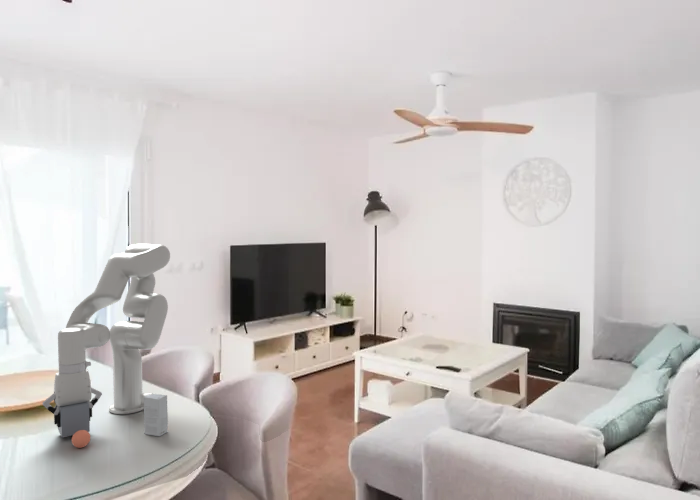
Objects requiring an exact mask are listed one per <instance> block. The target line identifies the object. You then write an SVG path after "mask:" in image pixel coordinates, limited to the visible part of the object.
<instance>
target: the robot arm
mask: <svg viewBox="0 0 700 500" xmlns="http://www.w3.org/2000/svg"><path fill="white" fill-rule="evenodd" d="M170 259H171V253H170V250H169V247H167V246H165V245H164V244H155V243H154V244H151V243H136V244H135V243H133V244H131V245H130V244H129V246H127V247H126V249H125V251H124V252H121V253H114V254H112V255H111V256H110V257H109V258H108V260H107V263H106V265H105V267H104V270H103V271H102V274H101V276H100V278H99V281H98V283H97V284H96V287H95V290H94V291H93V292H92V293H90V295H88V296H86V297H85V298H84V299H83V300H82V301H81V302H80V303H79V304H78V305H76V307H75V308H74V309H73V311H72V312H71V314H70V316H69V319H68V320H67V323H66V325H65V328H63V329H59V331H58V333H57V348H58V349H57V350H58V351H57V355H58V359H57V360H58V372H56V373H55V376H54V382H53V383H54V384H53V393H52V394H51V395H50V396H49V397H47V398H46V399H45V400H44V401H42V406H43V407H44V408H46V410H47V411H49V412H50V413H51V414H53V423H54V425H56V427H57V428H58V427H60V414H59V412H60V407H62V406H68V405H73V404H79V403H84V402H88V403H89V420H90V421H91V418H92V417H93V408H94V406H95V405H96V404H97V403H98V401H99V400H100V398H101V396H103V393H102V391H100V390H98V389H96V388H93V387H92V384H91V377H90V372H89V370H88V367H91V366H92V361H87V360H86V359H87V357H86V350H87V349H95V348H101V347H103V346H104V345H107V343H109V344H110V346H111V352H112V371H113V373H112V376H113V377H112V379H113V403H112V404H110V406H109V407H108V411H109V412H110V413H112V414H114V415H128V414H134V413H138V412H140V411H144V397H145V396H148V395H150V394H151V393H150V392H149V393H144V392H143V360H142V359H143V358H142V354H141V352H140V350H148V351H149V350H152V349H154V348H155V347H156V346H157V345H158V343H159V340H160V339H161V335H162V333H163V332H162V331H163V329H164V325H165V321H166V318H167V315H168V309H169V305H168V300H167V298H166V297H165V296H164V295H163V294H162V293H155V292H154V290H155V286H156V277H155V275H154V273H156V272H158V271H160V270H161V269H163V268H165V267H166V266H167V265H168V263H169V261H170ZM129 280H130V283H129V287H128V290H127V293H126V296H125V300H124V302H123V306H122V312H123V315H124V316H126V318H127V317H128V318H131V319H137V320H138V319H139V320H143V321H136V320H135V321H134V320H120V321H117V322H116V323H114V324H113V325H112V326H111V327H110V328H109V327H107V326H106V325H104V324H101V323H91V322H89V320H90V319H91V318H92V317H93V316H94V315H95V314H96V313H97V312H99V311H100V310H102V309H105V308H107V307H109V306H111V305H113V304H116V303H118V302H120V301H121V299H122V296H123V294H124V291H125V289H126V286H127V284H128V282H129ZM92 394H94V395H95V396H94V397H93V398H92ZM52 402H54V403H55V406H54V407H53V406H52V405H51V403H52Z"/></svg>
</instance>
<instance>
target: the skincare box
mask: <svg viewBox="0 0 700 500" xmlns="http://www.w3.org/2000/svg"><path fill="white" fill-rule="evenodd" d="M143 416H144V417H143V419H144V421H143V423H144V424H143V425H144V429H143V431H144V435H147V436H156V437H161V436H163V435H165V434H166V433H168V431H169V425H168V424H169V423H168V422H169V421H168V420H169V419H168V418H169V417H168V395H167V394H159V393H153V392H152V393H150V395H148V396H145V397H144V409H143Z"/></svg>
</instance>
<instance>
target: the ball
mask: <svg viewBox="0 0 700 500" xmlns="http://www.w3.org/2000/svg"><path fill="white" fill-rule="evenodd" d="M90 441H91V433H90V432H88V431H86V430H79V431H77V432H76V433H75V434H74V435H72V437H71V444H72V445H73V446H74V447H75V448H77V449H79V448H80V449H81V448H85V447H87V446H88V445H89V443H90Z"/></svg>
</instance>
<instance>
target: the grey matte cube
mask: <svg viewBox="0 0 700 500" xmlns="http://www.w3.org/2000/svg"><path fill="white" fill-rule="evenodd" d="M59 414H60V427H57V430H58V432H59V434H60V436H61V438H66V437H71V436H73V435H74V434H75V433H76V432H77V431H79V430H86V431H88V432H89V433H90V431H91V429H90V425H91V423H90V422H91V419H90V420H89V403H88V402H84V403H79V404H73V405H68V406H62V407H60V412H59Z"/></svg>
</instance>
